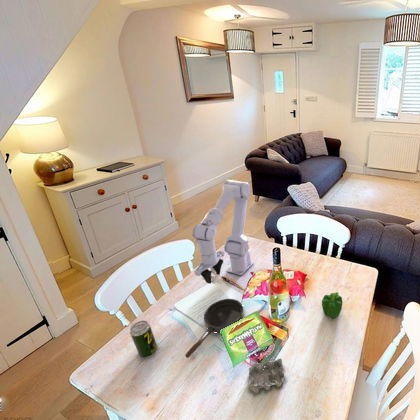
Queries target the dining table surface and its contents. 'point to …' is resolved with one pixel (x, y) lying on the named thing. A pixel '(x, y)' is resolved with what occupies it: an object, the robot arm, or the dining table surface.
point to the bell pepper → (332, 305)
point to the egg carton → (266, 375)
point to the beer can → (143, 339)
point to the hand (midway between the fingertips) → (213, 278)
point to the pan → (223, 314)
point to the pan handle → (199, 342)
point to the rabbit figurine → (215, 277)
